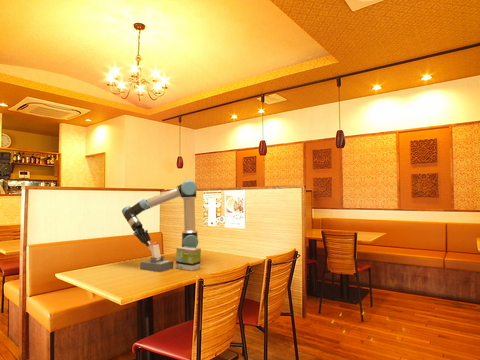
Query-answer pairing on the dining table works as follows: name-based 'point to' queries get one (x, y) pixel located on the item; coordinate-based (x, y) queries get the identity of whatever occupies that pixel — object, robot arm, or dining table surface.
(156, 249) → the breaker lever
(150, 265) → the breaker housing
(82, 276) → the dining table surface
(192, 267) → the tea box
